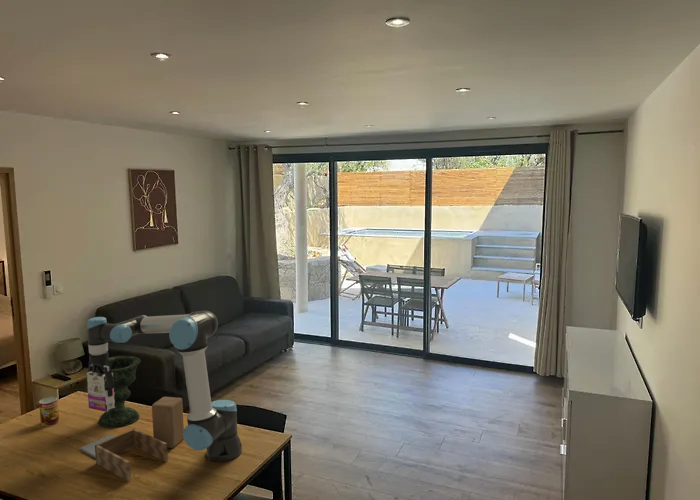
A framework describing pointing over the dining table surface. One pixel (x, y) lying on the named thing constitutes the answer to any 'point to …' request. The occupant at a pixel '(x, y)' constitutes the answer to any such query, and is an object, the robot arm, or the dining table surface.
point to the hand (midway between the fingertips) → (101, 399)
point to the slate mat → (91, 447)
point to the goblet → (121, 391)
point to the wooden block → (168, 420)
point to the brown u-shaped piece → (124, 442)
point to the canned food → (49, 411)
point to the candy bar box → (98, 392)
